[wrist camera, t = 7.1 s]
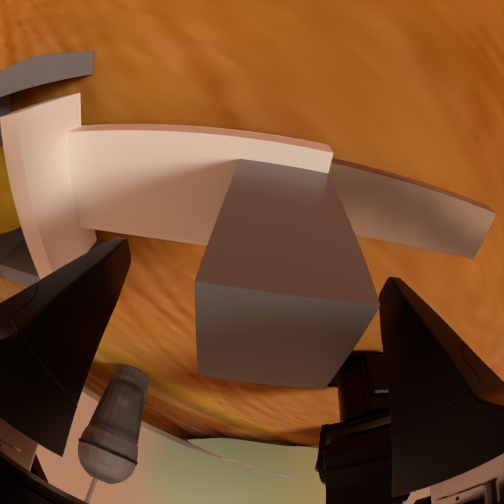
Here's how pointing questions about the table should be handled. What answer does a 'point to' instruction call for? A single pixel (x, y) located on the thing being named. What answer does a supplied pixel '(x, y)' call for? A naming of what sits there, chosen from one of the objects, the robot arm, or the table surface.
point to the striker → (205, 230)
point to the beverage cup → (114, 429)
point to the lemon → (6, 200)
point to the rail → (409, 210)
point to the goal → (3, 84)
